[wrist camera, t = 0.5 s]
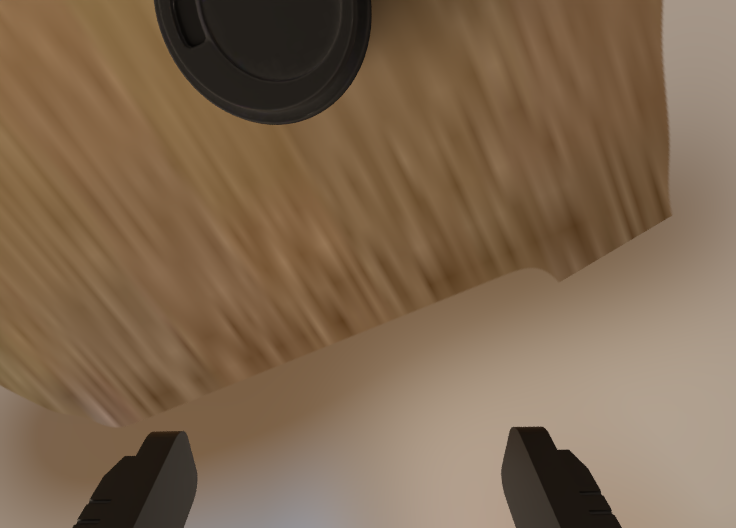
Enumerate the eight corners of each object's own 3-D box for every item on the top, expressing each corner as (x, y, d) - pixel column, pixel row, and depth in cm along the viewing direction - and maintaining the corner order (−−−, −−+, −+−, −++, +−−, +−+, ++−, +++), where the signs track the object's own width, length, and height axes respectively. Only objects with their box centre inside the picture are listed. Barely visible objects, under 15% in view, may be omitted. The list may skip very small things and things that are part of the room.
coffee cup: (208, 20, 30) (83, -22, 16) (308, -78, 27) (262, -222, 14) (294, 129, 33) (252, 171, 19) (390, 50, 31) (418, 35, 17)
